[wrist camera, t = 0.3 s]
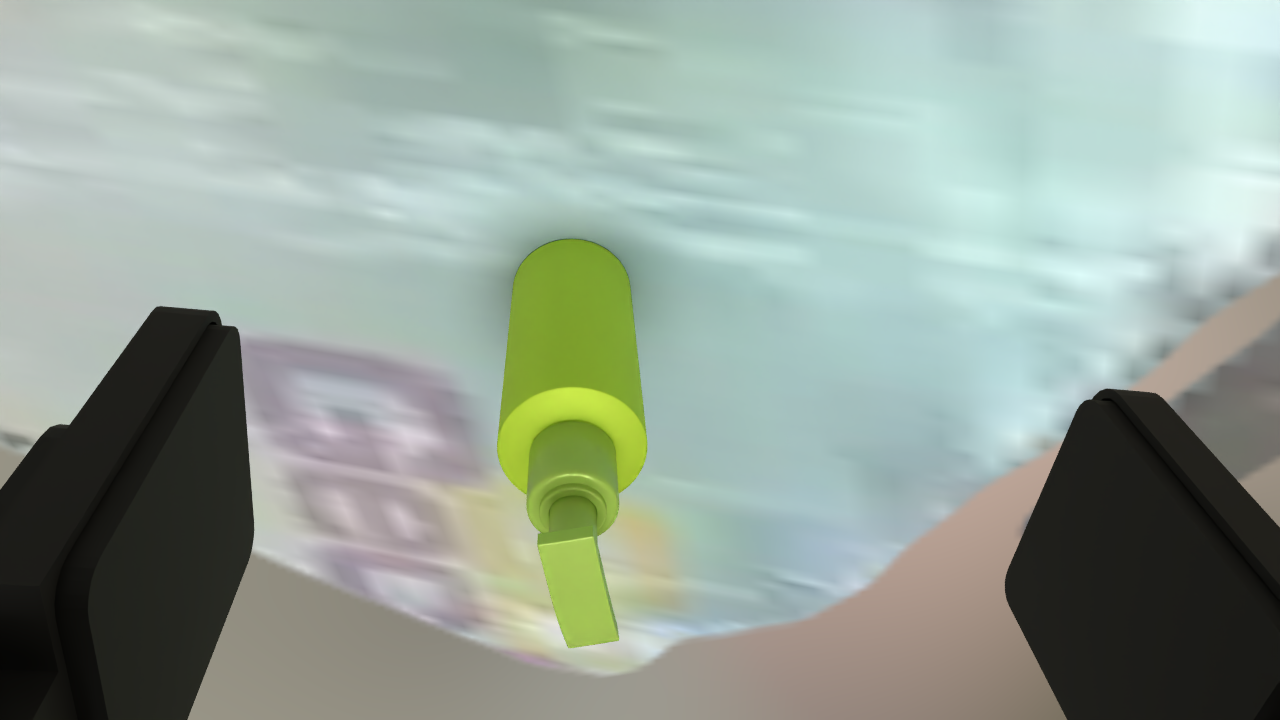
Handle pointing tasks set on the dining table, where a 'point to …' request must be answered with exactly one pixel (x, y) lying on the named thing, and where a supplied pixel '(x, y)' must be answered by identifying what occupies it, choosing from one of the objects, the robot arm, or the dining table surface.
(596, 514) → the soap dispenser
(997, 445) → the dining table surface
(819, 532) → the dining table surface
